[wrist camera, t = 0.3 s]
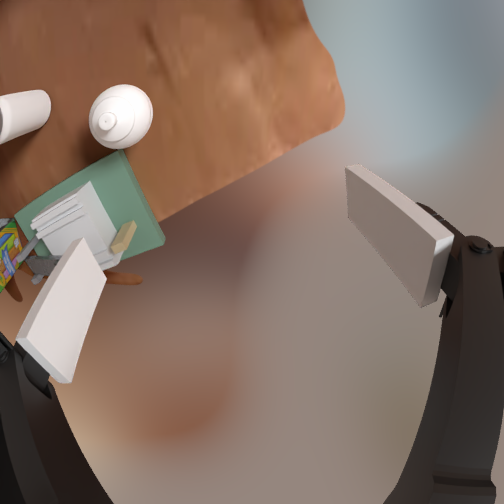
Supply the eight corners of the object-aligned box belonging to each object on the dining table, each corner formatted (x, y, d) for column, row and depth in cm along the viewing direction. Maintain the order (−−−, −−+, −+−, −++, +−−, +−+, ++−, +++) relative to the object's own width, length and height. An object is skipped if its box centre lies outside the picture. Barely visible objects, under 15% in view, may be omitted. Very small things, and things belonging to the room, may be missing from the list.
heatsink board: (19, 210, 36) (-8, 235, 28) (122, 147, 35) (99, 164, 27) (62, 278, 45) (45, 310, 37) (165, 238, 43) (156, 272, 36)
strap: (27, 255, 34) (21, 261, 33) (72, 253, 25) (63, 262, 24) (37, 270, 35) (32, 276, 34) (87, 276, 27) (79, 285, 26)
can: (57, 92, 28) (9, 101, 18) (46, 132, 30) (0, 153, 21) (27, 87, 25) (-21, 96, 15) (19, 125, 28) (-29, 145, 18)
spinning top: (168, 128, 34) (150, 144, 24) (119, 144, 34) (85, 168, 24) (156, 77, 30) (131, 73, 20) (105, 96, 30) (65, 102, 20)
